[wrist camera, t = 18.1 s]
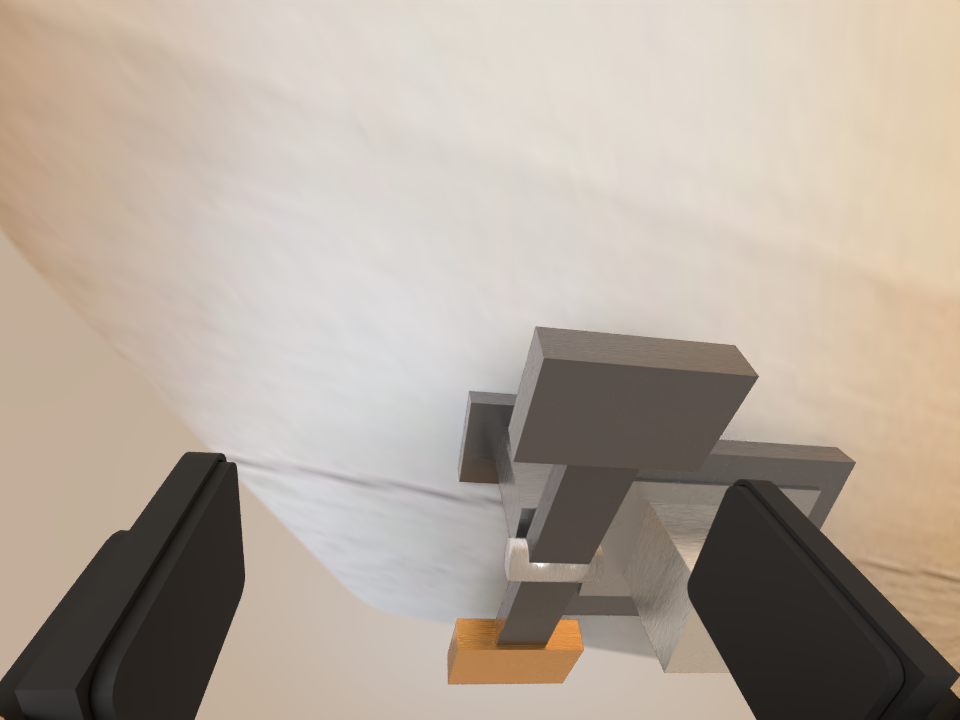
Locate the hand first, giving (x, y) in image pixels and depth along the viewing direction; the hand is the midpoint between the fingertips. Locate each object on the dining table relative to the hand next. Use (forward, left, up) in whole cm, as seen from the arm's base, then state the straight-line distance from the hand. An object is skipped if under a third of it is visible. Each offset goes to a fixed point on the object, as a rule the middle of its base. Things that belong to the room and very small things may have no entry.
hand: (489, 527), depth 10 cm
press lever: (-5, +8, -7) cm, 12 cm away
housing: (-17, +14, -15) cm, 26 cm away
